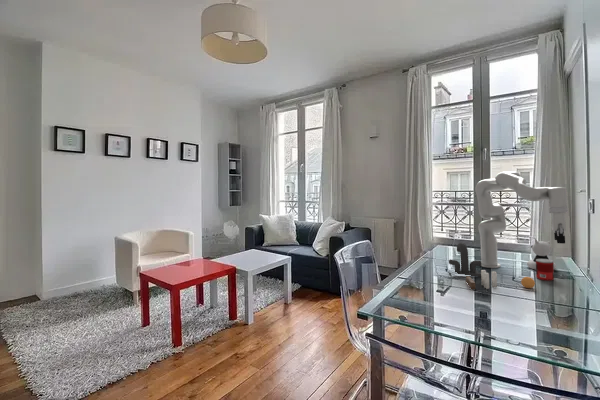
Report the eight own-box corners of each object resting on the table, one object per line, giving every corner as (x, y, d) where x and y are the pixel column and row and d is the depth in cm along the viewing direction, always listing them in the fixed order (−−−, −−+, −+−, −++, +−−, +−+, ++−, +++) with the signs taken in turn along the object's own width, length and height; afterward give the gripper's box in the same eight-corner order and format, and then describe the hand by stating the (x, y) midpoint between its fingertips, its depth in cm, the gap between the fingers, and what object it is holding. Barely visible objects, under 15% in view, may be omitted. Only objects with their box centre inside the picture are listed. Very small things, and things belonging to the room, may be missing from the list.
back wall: (465, 282, 174) (465, 275, 174) (469, 282, 174) (469, 276, 173) (471, 289, 163) (471, 282, 163) (475, 289, 162) (475, 282, 162)
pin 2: (483, 287, 165) (483, 272, 165) (488, 287, 164) (488, 272, 164) (485, 288, 163) (484, 273, 162) (490, 288, 162) (489, 273, 162)
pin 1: (481, 284, 170) (480, 269, 170) (485, 284, 169) (485, 269, 169) (482, 285, 168) (481, 271, 167) (487, 285, 167) (486, 271, 167)
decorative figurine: (542, 264, 198) (541, 235, 197) (562, 270, 183) (562, 239, 182) (521, 266, 197) (520, 236, 196) (539, 272, 182) (539, 241, 181)
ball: (519, 285, 164) (518, 275, 164) (532, 286, 162) (531, 275, 162) (524, 289, 158) (523, 278, 158) (537, 290, 156) (537, 279, 156)
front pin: (491, 286, 166) (490, 271, 166) (496, 286, 166) (495, 271, 165) (492, 287, 164) (492, 272, 164) (497, 287, 163) (497, 272, 163)
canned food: (557, 280, 167) (556, 261, 167) (541, 280, 169) (540, 262, 168) (548, 276, 175) (548, 258, 174) (533, 276, 177) (532, 258, 176)
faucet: (475, 269, 197) (474, 240, 196) (483, 277, 182) (482, 245, 181) (445, 269, 202) (444, 240, 201) (451, 276, 186) (449, 245, 185)
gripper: (547, 208, 166) (548, 238, 167) (551, 211, 152) (552, 244, 153) (564, 208, 162) (566, 239, 162) (570, 211, 148) (572, 245, 148)
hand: (559, 241), depth 158 cm, fingers open, 9 cm apart
